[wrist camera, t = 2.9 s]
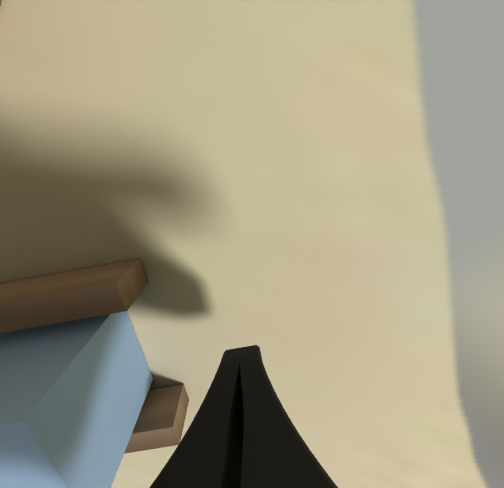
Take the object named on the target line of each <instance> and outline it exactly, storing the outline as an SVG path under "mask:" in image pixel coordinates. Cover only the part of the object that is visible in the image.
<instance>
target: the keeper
mask: <svg viewBox="0 0 504 488" xmlns="http://www.w3.org/2000/svg"><path fill="white" fill-rule="evenodd" d="M152 380H153V377H152V375H151V372H150V370H149V367H148V365H147V362H146V360H145V357H144V355H143V352H142V349H141V347H140V344H139V342H138V339H137V337H136V334H135V332H134V329H133V327H132V324H131V322H130V319H129V316H128V314H127V311H124V312H119V313H113V314H107V315H101V316H95V317H90V318H84V319H78V320H72V321H67V322H61V323H55V324H49V325H44V326H38V327H32V328H26V329H20V330H15V331H9V332H3V333H0V488H111V486H112V483H113V480H114V478H115V475H116V473H117V470H118V468H119V465H120V462H121V460H122V457H123V455H124V452H125V450H126V447H127V444H128V442H129V439H130V437H131V434H132V432H133V429H134V426H135V424H136V421H137V419H138V416H139V414H140V411H141V408H142V406H143V403H144V401H145V398H146V396H147V393H148V390H149V388H150V385H151V383H152Z"/></svg>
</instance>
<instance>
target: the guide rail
mask: <svg viewBox="0 0 504 488" xmlns="http://www.w3.org/2000/svg"><path fill="white" fill-rule="evenodd" d="M147 282H148V280H147V277H146V274H145V271H144V268H143V265H142V263H141V260H140V258H139V259H134V260H128V261H122V262H117V263H111V264H105V265H100V266H94V267H89V268H83V269H77V270H72V271H66V272H60V273H55V274H49V275H43V276H38V277H32V278H27V279H21V280H15V281H10V282H4V283H0V333H3V332H9V331H15V330H20V329H26V328H32V327H38V326H44V325H49V324H55V323H61V322H67V321H72V320H78V319H84V318H90V317H95V316H101V315H107V314H113V313H119V312H124V311H127V310H128V309H129V308H130V306H131V305H132V303H133V302H134V301H135V299H136V298H137V296H138V295H139V294H140V292H141V291H142V289H143V288H144V287H145V285H146V284H147ZM188 402H189V398H188V396H187V393H186V390H185V387H184V384H180V385H174V386H168V387H162V388H156V389H150V390H148V393H147V396H146V398H145V401H144V403H143V406H142V408H141V411H140V414H139V416H138V419H137V421H136V424H135V426H134V429H133V432H132V434H131V437H130V439H129V442H128V444H127V447H126V450H125V452H124V453H130V452H136V451H143V450H149V449H155V448H161V447H167V446H174V445H179V444H180V440H181V435H182V430H183V426H184V421H185V416H186V411H187V407H188Z"/></svg>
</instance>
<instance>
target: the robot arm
mask: <svg viewBox="0 0 504 488" xmlns="http://www.w3.org/2000/svg"><path fill="white" fill-rule="evenodd" d="M150 488H338V487H337V486H336V485H335V483H334V482H333V481H332V480H331V478H330V477H329V476H328V474H327V473H326V471H325V470H324V469H323V467H322V466H321V465H320V463H319V462H318V461H317V459H316V458H315V457H314V455H313V454H312V452H311V451H310V450H309V448H308V447H307V445H306V444H305V442H304V441H303V439H302V438H301V436H300V435H299V433H298V431H297V430H296V428H295V427H294V425H293V423H292V422H291V420H290V418H289V417H288V415H287V413H286V412H285V410H284V408H283V406H282V404H281V403H280V401H279V399H278V397H277V395H276V393H275V391H274V389H273V387H272V384H271V382H270V380H269V378H268V376H267V373H266V371H265V368H264V365H263V362H262V358H261V353H260V348H259V347H258V346H257V345H254V346H248V347H242V348H236V349H230V350H226V351H225V352H224V354H223V357H222V360H221V363H220V365H219V368H218V370H217V373H216V375H215V377H214V380H213V382H212V384H211V386H210V388H209V390H208V392H207V395H206V397H205V399H204V401H203V403H202V405H201V406H200V408H199V410H198V412H197V414H196V416H195V418H194V420H193V422H192V423H191V425H190V427H189V429H188V430H187V432H186V434H185V435H184V437H183V439H182V440H181V442H180V444H179V445H178V447H177V448H176V450H175V452H174V453H173V455H172V456H171V458H170V459H169V461H168V462H167V463H166V465H165V466H164V468H163V469H162V471H161V472H160V474H159V475H158V477H157V478H156V480H155V481H154V482H153V484H152V485H151V486H150Z"/></svg>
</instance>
